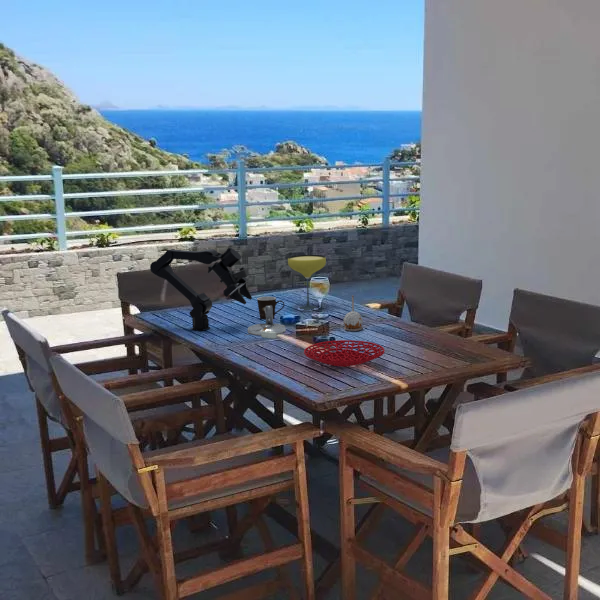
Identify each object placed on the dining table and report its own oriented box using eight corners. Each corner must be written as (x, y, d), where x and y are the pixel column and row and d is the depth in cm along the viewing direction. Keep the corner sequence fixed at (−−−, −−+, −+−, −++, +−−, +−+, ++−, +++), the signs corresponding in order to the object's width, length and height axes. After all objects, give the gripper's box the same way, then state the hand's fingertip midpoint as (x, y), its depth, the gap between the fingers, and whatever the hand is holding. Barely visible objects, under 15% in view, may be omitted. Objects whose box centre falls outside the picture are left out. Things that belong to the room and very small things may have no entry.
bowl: (325, 379, 280) (325, 365, 279) (291, 359, 307) (291, 346, 306) (399, 367, 292) (399, 354, 291) (361, 349, 318) (361, 336, 317)
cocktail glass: (327, 312, 385) (326, 259, 380) (289, 313, 385) (287, 260, 380) (326, 304, 402) (325, 254, 397) (290, 305, 403) (288, 255, 398)
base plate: (233, 336, 344) (232, 326, 343) (261, 326, 361) (260, 317, 360) (272, 341, 333) (272, 331, 332) (299, 330, 350) (298, 321, 349)
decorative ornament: (365, 330, 347) (364, 296, 344) (348, 332, 345) (347, 297, 342) (358, 326, 354) (357, 293, 351) (341, 328, 352) (340, 294, 349)
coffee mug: (254, 321, 370) (253, 299, 368) (262, 317, 378) (261, 296, 376) (278, 322, 366) (277, 301, 364) (285, 318, 374) (285, 297, 372)
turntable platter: (281, 335, 338) (280, 313, 336) (243, 335, 341) (242, 313, 339) (288, 326, 353) (288, 305, 351) (252, 326, 356) (251, 305, 354)
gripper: (231, 265, 339) (256, 294, 339) (243, 258, 356) (267, 285, 357) (212, 282, 342) (237, 310, 342) (225, 274, 360) (249, 301, 360)
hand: (248, 301), depth 350 cm, fingers open, 9 cm apart
